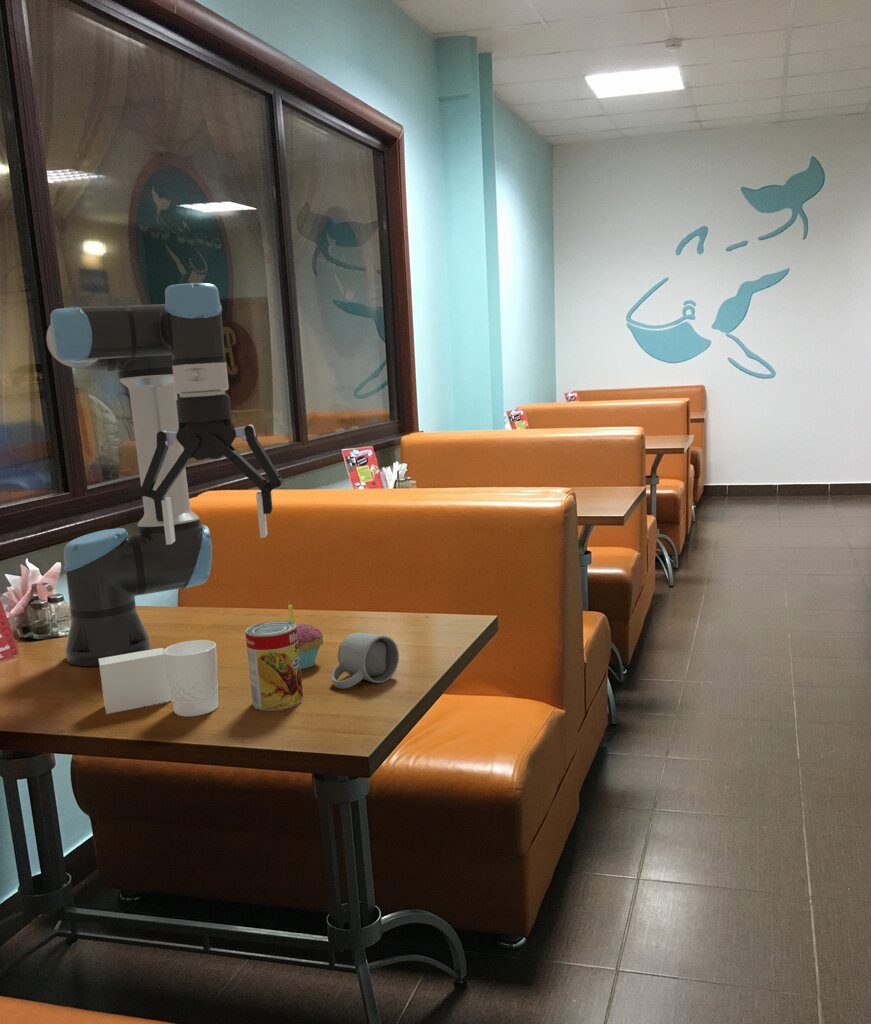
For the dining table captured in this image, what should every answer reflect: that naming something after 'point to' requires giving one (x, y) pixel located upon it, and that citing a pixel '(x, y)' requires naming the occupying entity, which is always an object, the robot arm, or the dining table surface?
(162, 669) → the off-white rectangular block
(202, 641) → the white cup
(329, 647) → the dining table surface
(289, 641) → the canned food
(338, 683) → the ceramic mug
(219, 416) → the robot arm
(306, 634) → the cupcake
